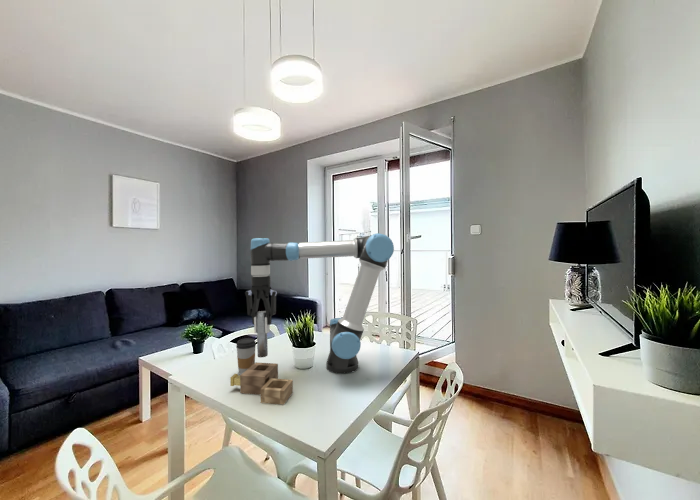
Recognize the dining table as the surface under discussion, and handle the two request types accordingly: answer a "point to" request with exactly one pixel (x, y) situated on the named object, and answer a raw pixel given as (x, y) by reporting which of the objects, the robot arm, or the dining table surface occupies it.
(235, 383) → the drift key
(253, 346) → the coffee cup
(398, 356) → the dining table surface
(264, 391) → the block
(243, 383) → the socket block
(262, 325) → the grey metal rod
